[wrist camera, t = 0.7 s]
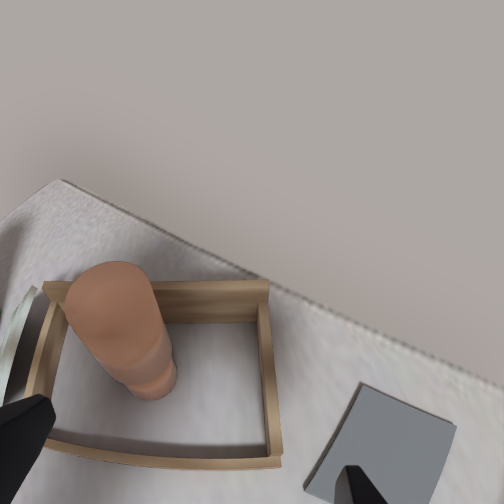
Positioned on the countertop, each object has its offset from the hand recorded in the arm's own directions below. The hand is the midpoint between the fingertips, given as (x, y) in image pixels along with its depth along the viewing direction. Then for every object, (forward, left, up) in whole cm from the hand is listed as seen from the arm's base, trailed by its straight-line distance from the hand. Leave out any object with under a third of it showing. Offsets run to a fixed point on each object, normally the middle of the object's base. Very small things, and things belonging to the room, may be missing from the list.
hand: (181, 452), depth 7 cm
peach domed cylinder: (+3, +10, -15) cm, 19 cm away
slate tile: (+8, -10, -15) cm, 20 cm away
